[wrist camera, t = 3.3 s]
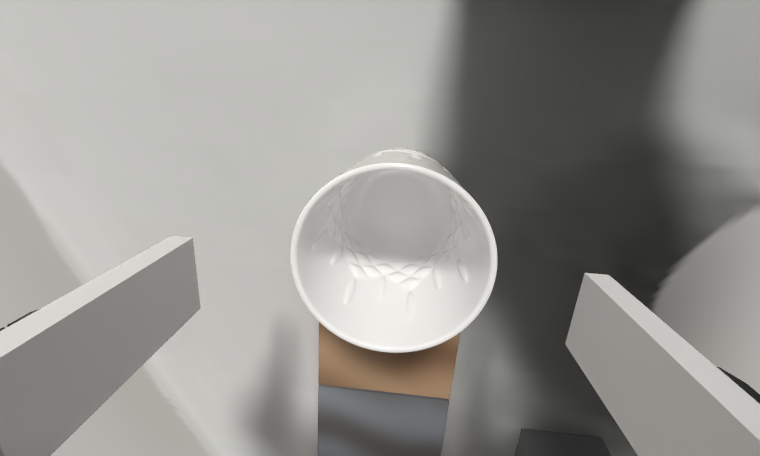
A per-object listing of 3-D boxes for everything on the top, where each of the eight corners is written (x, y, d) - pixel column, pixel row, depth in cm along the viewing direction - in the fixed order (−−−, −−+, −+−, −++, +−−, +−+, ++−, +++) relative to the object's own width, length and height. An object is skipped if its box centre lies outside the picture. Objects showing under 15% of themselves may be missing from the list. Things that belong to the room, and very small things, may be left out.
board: (321, 265, 25) (319, 268, 25) (467, 279, 25) (468, 283, 24) (318, 546, 35) (316, 552, 35) (421, 560, 34) (422, 566, 34)
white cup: (315, 208, 24) (252, 278, 14) (389, 109, 21) (371, 115, 12) (408, 278, 25) (406, 385, 16) (489, 191, 23) (544, 254, 13)
